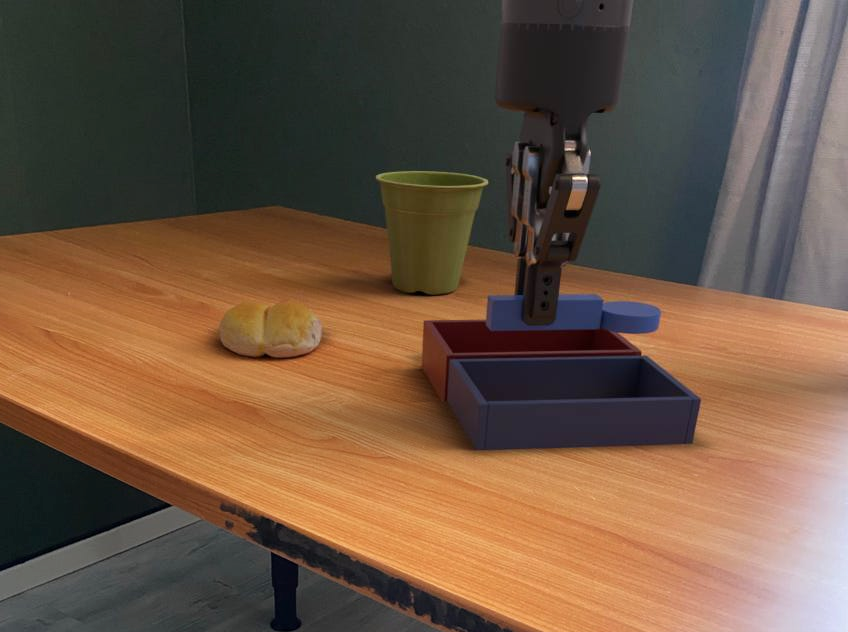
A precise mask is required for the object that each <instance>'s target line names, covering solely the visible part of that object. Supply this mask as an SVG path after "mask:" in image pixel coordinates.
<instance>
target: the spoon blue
mask: <svg viewBox="0 0 848 632" xmlns="http://www.w3.org/2000/svg"><path fill="white" fill-rule="evenodd" d="M604 301H605V300H604V299H603V298H602V297H601V296H600V295H599V294H597V293H569V294H567V293H566V294H561V293H559V296H558V305H557V313H556V320H555V322H554V323H553V324H551V325H548V326H529V325H526V324H525V323H524V322H523V321H522V318H521V315H522V305H523V295H514V294H492V295H491V294H490V295H487V303H486V315H485V320H486V326H487V327H488V328H489V329H490V330H491V331H526V330H588V329H600V328H602V329H605V330H608V331H612V332H618V333H619V334H627V335H628V334H629V335H641V334H643V335H644V334H650V333H654V332H656V331H658V330H659V327H660V322H661V317H662V316H661V315H662V310H661V308H659V307H657V306H655V305H654V304H649V303H644V302H638V301H628V300H627V301H626V300H620V301H619V300H615V301H607V302H604Z"/></svg>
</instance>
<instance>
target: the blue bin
mask: <svg viewBox="0 0 848 632" xmlns="http://www.w3.org/2000/svg"><path fill="white" fill-rule="evenodd" d="M446 403H447V404H448V405H449V408H450V409H451V410H452V412H453V414H454V416H455V418H456V419H457V421H458V423H459V424H460V426H461V428H462V429H463V431H464V433H465V434H466V436H467V438H468V440H469V441H470V443H471V445H472V446H473V449H474V450H475V451H477V452H478V451H505V450H534V449H535V450H536V449H537V450H538V449H539V450H540V449H542V450H543V449H571V448H601V447H608V448H609V447H634V446H635V447H637V446H638V447H639V446H669V445H671V446H672V445H693V443H694V437H695V433H696V428H697V424H698V423H697V422H698V418H699V413H700V409H701V403H702V398H701V397H700V396H698V395H697V394H696V393H695V392H693V391H692V390H691V389H689V388H688V387H687V386H686V385H685V384H683V383H682V382H681V381H680V380H678V378H676V377H674V376H673V374H671V373H669V372H668V371H667V370H666V369H665V368H663V367H662V366H660V364H658V363H657V362H656V361H654V360H653V359H652V358H651V357H649V356H648V355H641V356H595V357H545V358H494V359H458V360H457V359H450V361H449V378H448V394H447V402H446Z"/></svg>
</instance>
